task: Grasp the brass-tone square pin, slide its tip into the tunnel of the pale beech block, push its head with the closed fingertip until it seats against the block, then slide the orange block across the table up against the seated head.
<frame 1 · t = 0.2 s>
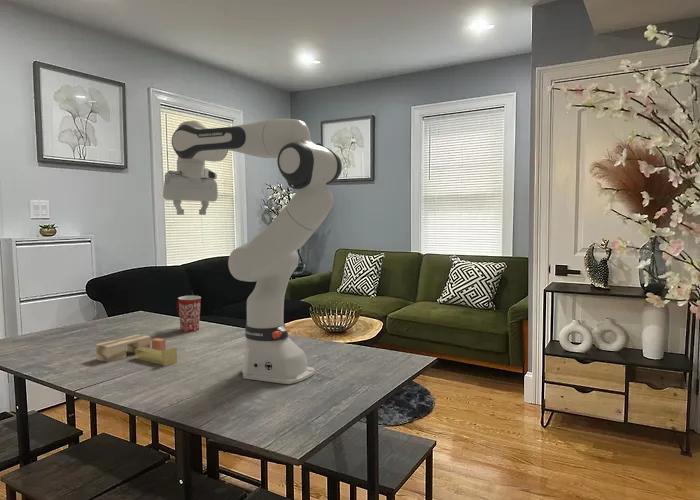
hand: (191, 214, 162), 47 cm above the table, fingers open, 8 cm apart
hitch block: (124, 354, 165), on the table
pin: (153, 360, 159), on the table
mug: (187, 329, 202), on the table
orange block: (158, 345, 169), point 2 cm above the table, slide at 0.0 cm
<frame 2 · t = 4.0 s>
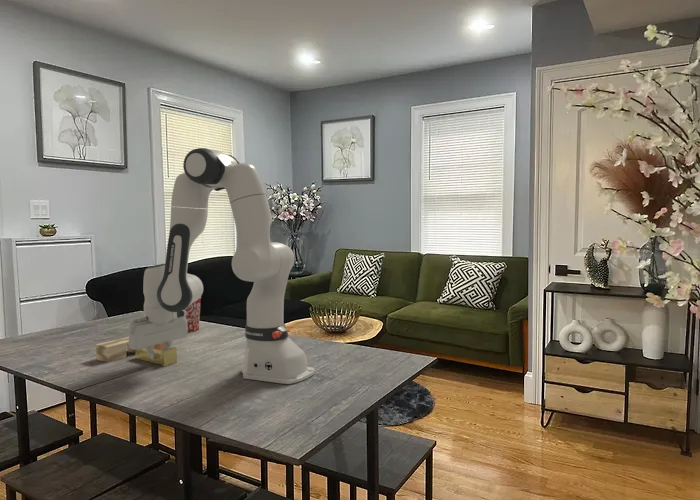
hand: (159, 356, 157), 2 cm above the table, fingers closed on pin, 3 cm apart
pin: (153, 360, 159), on the table, touching gripper
everything else where it was.
when the fingers open (2 cm above the table, at t = 6.7 s): pin stays where it is, on the table.
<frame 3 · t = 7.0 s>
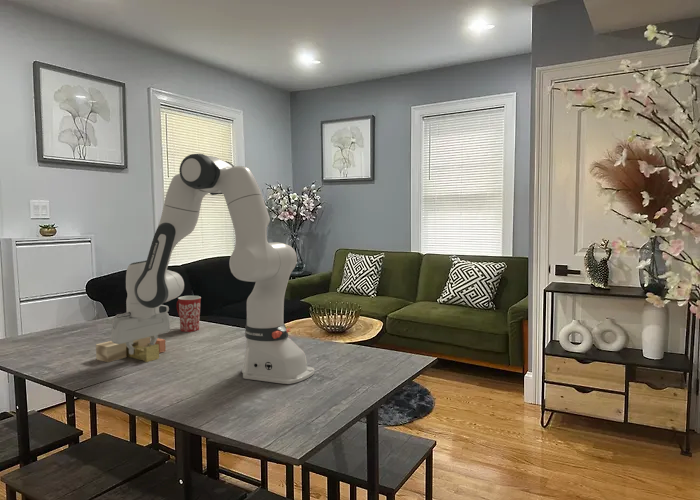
hand: (142, 351, 161), 2 cm above the table, fingers open, 6 cm apart
pin: (136, 356, 163), on the table
everything else where it was.
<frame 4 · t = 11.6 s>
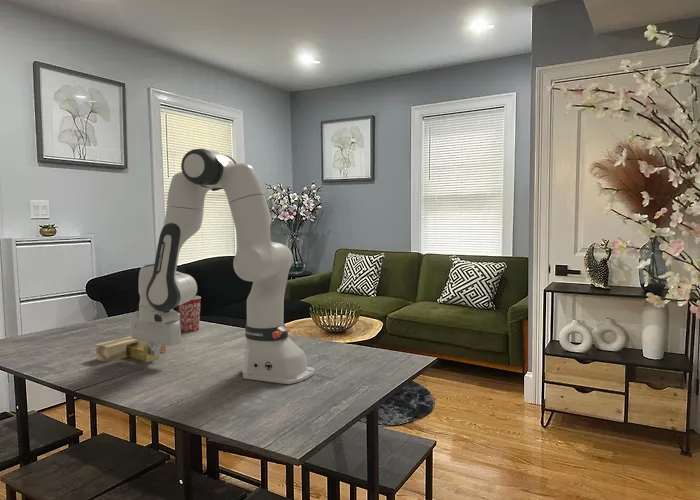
hand: (155, 355, 158), 2 cm above the table, fingers closed
pin: (136, 356, 163), on the table, touching gripper
everything else where it was.
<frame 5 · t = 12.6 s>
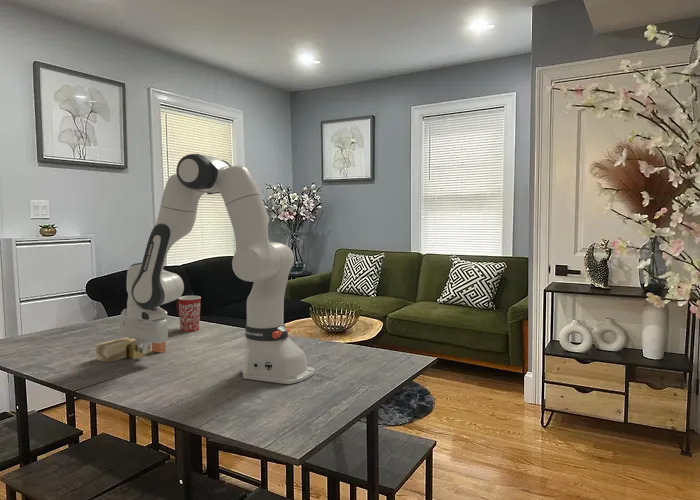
hand: (142, 352, 161), 2 cm above the table, fingers closed
pin: (124, 353, 166), on the table, touching gripper
everything else where it was.
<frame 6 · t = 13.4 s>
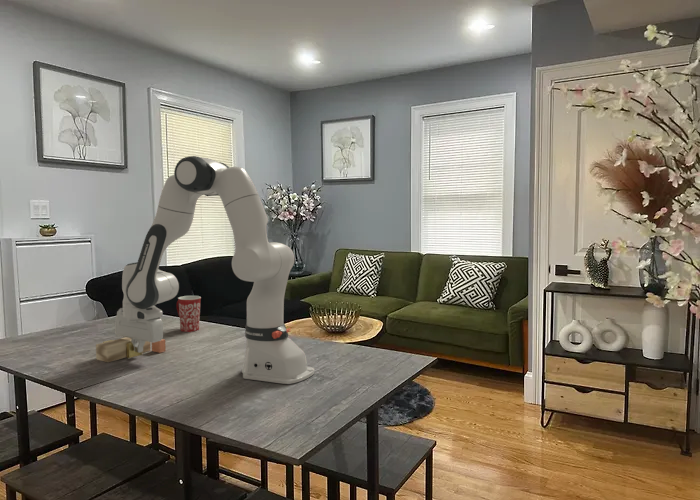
hand: (138, 351, 162), 2 cm above the table, fingers closed
pin: (120, 352, 167), on the table, touching gripper
everything else where it was.
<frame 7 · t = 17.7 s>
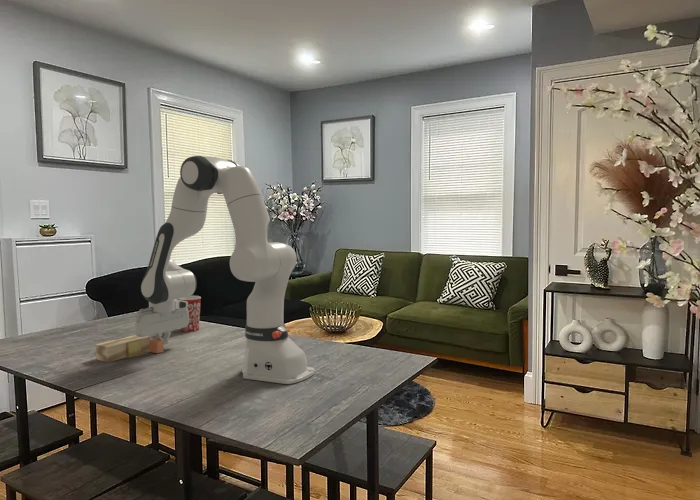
hand: (163, 344, 171), 2 cm above the table, fingers closed
pin: (119, 352, 168), on the table
orange block: (156, 345, 168), point 2 cm above the table, slide at 1.0 cm, touching gripper
everything else where it was.
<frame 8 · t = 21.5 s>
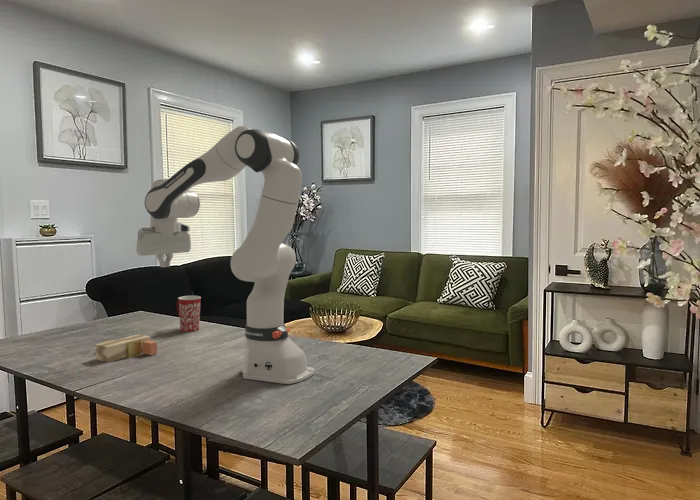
hand: (165, 267, 170), 29 cm above the table, fingers closed
orange block: (149, 347, 166), point 2 cm above the table, slide at 3.5 cm
everything else where it was.
at the end: pin 0.4 cm from the target spot, on the table; orange block slide at 3.5 cm; the gripper is holding nothing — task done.
